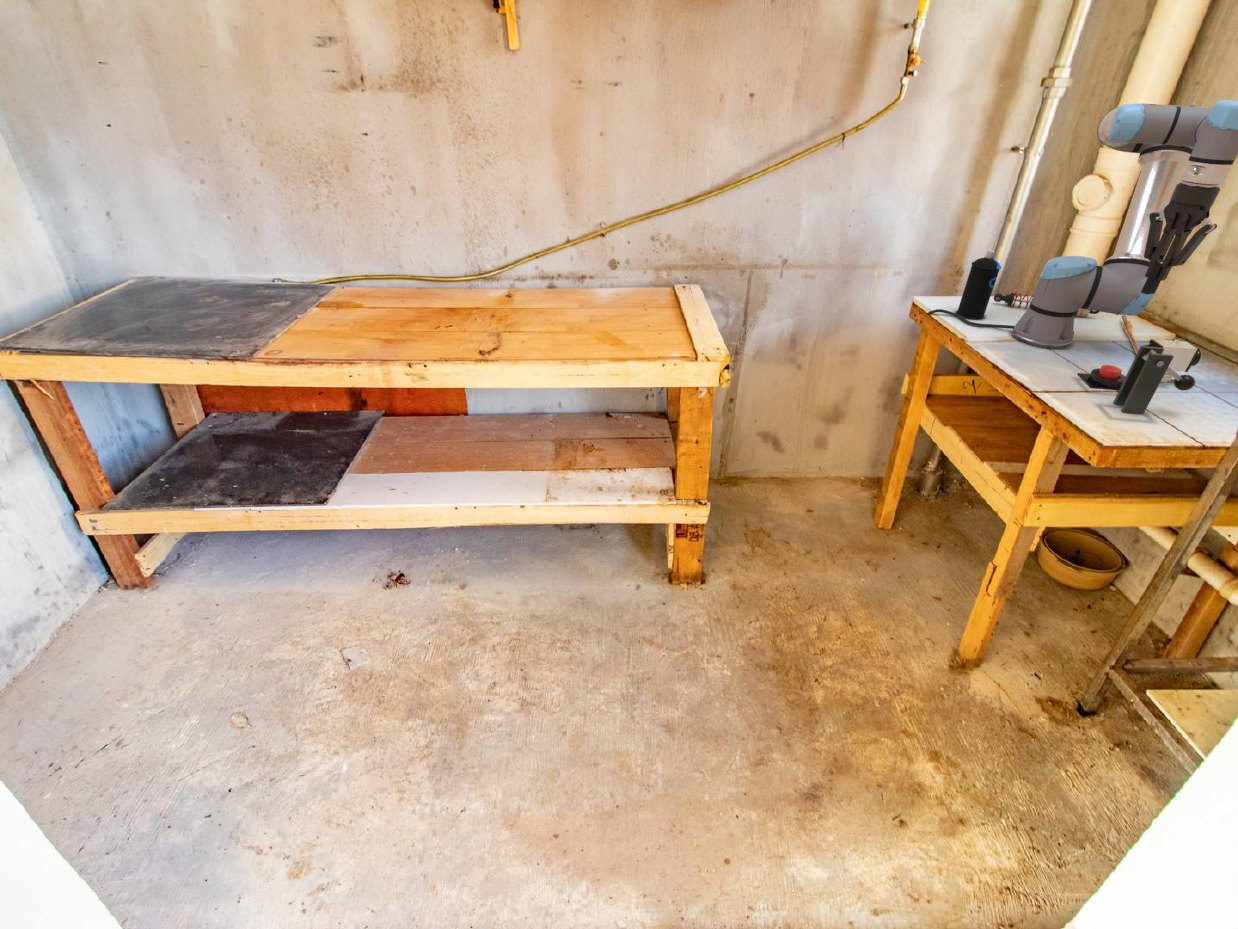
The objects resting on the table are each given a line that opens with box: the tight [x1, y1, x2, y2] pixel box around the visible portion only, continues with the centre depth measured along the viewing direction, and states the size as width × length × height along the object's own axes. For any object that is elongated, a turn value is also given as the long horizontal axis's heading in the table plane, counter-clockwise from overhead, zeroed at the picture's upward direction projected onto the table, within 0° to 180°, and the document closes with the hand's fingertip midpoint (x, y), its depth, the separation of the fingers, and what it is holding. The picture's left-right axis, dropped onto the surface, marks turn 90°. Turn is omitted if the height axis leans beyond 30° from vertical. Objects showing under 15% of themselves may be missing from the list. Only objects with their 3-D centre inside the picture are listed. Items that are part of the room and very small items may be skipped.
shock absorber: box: [993, 292, 1100, 318], centre depth 209 cm, size 5×5×30 cm
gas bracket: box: [1112, 345, 1174, 416], centre depth 149 cm, size 9×7×16 cm
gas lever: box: [1142, 349, 1196, 392], centre depth 146 cm, size 13×4×4 cm, turn 81°
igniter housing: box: [1076, 367, 1126, 392], centre depth 163 cm, size 10×8×4 cm
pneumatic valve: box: [1143, 338, 1202, 383], centre depth 164 cm, size 6×12×12 cm, turn 82°
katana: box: [1121, 315, 1140, 356], centre depth 189 cm, size 1×35×3 cm, turn 154°
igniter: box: [1098, 364, 1123, 379], centre depth 162 cm, size 4×4×2 cm
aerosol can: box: [955, 249, 1002, 321], centre depth 201 cm, size 8×8×20 cm
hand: (1147, 292), depth 151 cm, fingers closed
